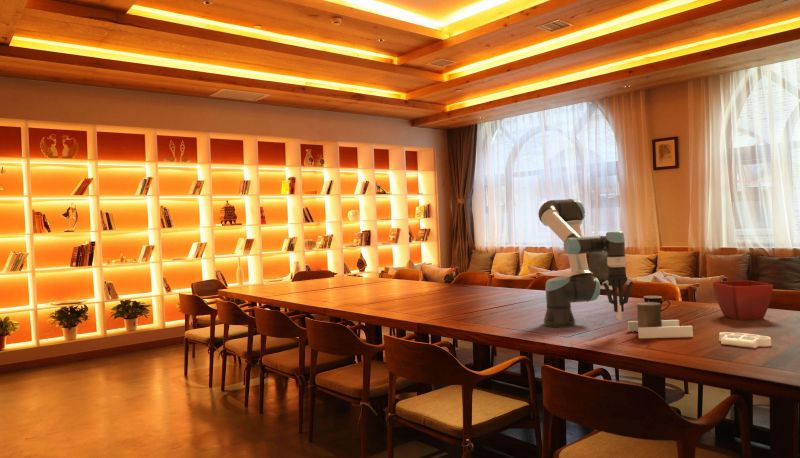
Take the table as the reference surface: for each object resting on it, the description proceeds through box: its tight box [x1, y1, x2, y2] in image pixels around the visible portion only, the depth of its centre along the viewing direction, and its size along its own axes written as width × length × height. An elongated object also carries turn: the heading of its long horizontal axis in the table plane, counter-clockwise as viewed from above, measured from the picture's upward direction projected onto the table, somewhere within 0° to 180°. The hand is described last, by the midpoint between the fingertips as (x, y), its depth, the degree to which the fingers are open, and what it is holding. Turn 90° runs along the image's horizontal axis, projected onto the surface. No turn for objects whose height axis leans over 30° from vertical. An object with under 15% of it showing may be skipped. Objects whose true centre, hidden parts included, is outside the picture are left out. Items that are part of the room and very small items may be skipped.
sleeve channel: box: [627, 319, 694, 339], centre depth 244 cm, size 22×15×4 cm
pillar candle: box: [636, 301, 662, 327], centre depth 244 cm, size 10×10×15 cm
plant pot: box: [712, 280, 774, 321], centre depth 270 cm, size 19×19×17 cm
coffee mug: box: [643, 295, 671, 313], centre depth 283 cm, size 12×9×10 cm
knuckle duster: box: [718, 331, 772, 349], centre depth 220 cm, size 3×18×15 cm
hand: (619, 319), depth 245 cm, fingers closed
